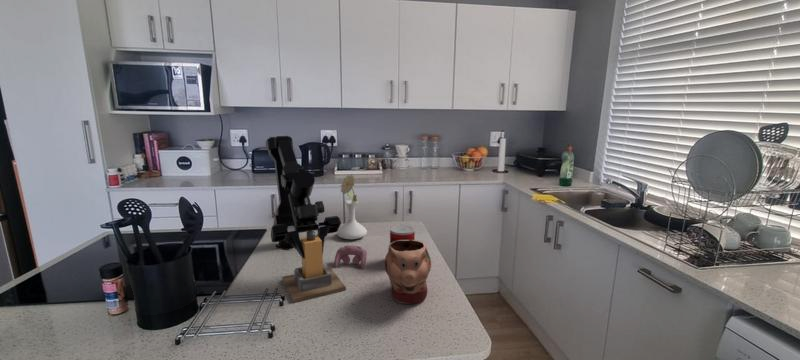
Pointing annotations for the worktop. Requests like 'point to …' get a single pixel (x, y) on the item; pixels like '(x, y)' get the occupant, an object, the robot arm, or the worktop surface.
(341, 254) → the video game controller
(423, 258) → the decorative planter
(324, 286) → the holder
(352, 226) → the flower in vase
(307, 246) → the plug
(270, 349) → the worktop surface
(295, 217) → the robot arm
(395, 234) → the canned food
